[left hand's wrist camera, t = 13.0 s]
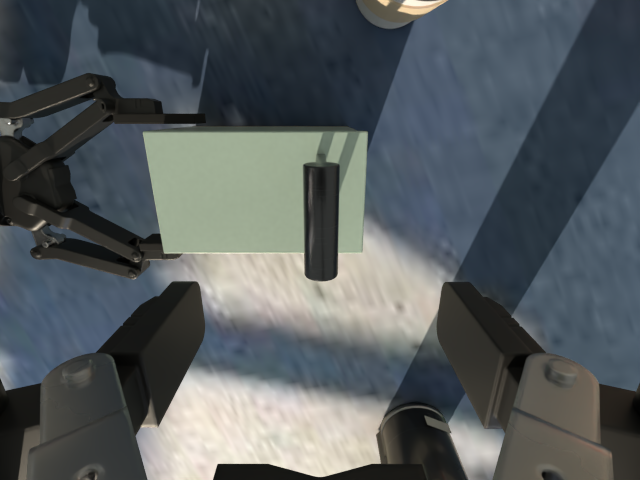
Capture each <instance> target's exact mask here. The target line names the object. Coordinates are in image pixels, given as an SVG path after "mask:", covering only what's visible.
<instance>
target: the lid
mask: <svg viewBox="0 0 640 480" xmlns="http://www.w3.org/2000/svg"><path fill="white" fill-rule="evenodd" d="M143 136H144V142H145V148H146V154H147V159H148V165H149V171H150V176H151V182H152V188H153V193H154V199H155V205H156V211H157V216H158V222H159V228H160V233H161V239H162V245H163V250H164V253H304V265H305V276H306V277H307V278H308V279H311V280H314V281H329V280H332V279H334V278H335V277H336V276H337V274H338V253H362V248H363V227H364V206H365V185H366V164H367V143H368V132H367V131H144V132H143Z"/></svg>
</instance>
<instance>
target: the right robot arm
mask: <svg viewBox="0 0 640 480" xmlns="http://www.w3.org/2000/svg"><path fill="white" fill-rule="evenodd" d="M115 88H116V84H115V81H114V80H113V79H112V78H111V77H108V76H103V75H97V74H92V73H86V74H84V75H81V76H78V77H76V78H73V79H71V80H68V81H65V82H63V83H60V84H58V85H55V86H52V87H50V88H47V89H45V90H42V91H39V92H37V93H34V94H32V95H29V96H26V97H24V98H21V99H19V100H16V101H13V102H0V132H1V135H2V136H0V226H19V227H22V228H24V229H26V230H29V231H32V234H33V237H34V240H35V242H36V245H37V246H36V247H34V248H32V249H31V251H30V253H31V255H32V257H33V258H35V259H39V260H41V259H59V260H63V261H66V262H70V263H74V264H78V265H81V266H85V267H89V268H92V269H96V270H100V271H104V272H107V273H111V274H115V275H118V276H122V277H126V278H130V279H136V278H137V277H138V276H139V275H141V274H142V273H143V272H144V271H145V270H146V269H147V268H148V267H149V266H150V262H149V260H175V259H177V258H179V257H180V256H181V255H182V254H183V253H164V250H163V245H162V239H161V234H152V235H150V236H149V237H147V238H146V239H143V238H141V237H139V236H137V235H135V234H134V233H132V232H130V231H128V230H126V229H124V228H122V227H120V226H118V225H116V224H114V223H112V222H110V221H108V220H106V219H104V218H103V217H101V216H99V215H97V214H95V213H93V212H91V211H90V210H89V208H88V207H87V206H85V205H83V204H81V203H79V202H78V201H76V200H74V199H77V197H76V194H75V190H74V188H73V186H72V185H71V182H70V170H69V166H68V165H65V164H64V163H63V162H64V161H65V160H66V159H68V158H69V157H70V156H72V155H73V154H74V153H75V150H77V149H78V148H79V147H81V146H82V145H83V144H85V143H86V142H87V141H89V140H90V139H91V138H93V137H94V136H96V135H97V134H98V133H100V132H101V131H102V130H104V129H105V128H106V127H108V126H109V125H110V124H112V123H113V122H114V123H115V124H198V123H206V119H205V114H163V110H162V103H161V101H158V100H156V99H148V98H122V97H121V96H120V95H119V94H118V93H117V91H116V89H115ZM91 99H93V100H97V101H96V102H94V103H93V104H92V105H91V106H89V107H88V108H87V109H85V110H84V111H83V112H81V113H80V114H79V115H78V116H76V117H75V118H74V119H72V120H71V121H70V122H68V123H67V124H66V125H65V126H63V127H62V128H61V129H59V130H58V131H57V132H56V133H54V134H53V135H52V136H50V137H49V138H48V139H46V140H45V141H43V142H41V143H38V144H36V143H34V142H33V141H31V140H30V139H28V138H26V137H24V136H22V131H23V129H25V128H28V127H30V125H31V124H33V123H34V120H33V118H40V117H45V116H48V115H51V114H53V113H56V112H59V111H61V110H64V109H67V108H70V107H72V106H75V105H78V104H80V103H83V102H86V101H88V100H91ZM50 225H54V226H56V227H58V228H62V229H69V230H72V231H74V232H76V233H78V234H80V235H82V236H84V237H86V238H88V239H90V240H92V241H94V242H96V243H98V244H100V245H102V246H100V245H97V244H93V243H89V242H86V241H82V240H78V239H72V238H66V235H65V234H58V233H54V232H52V231H51V230H50V228H49V226H50Z"/></svg>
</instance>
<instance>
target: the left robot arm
mask: <svg viewBox="0 0 640 480" xmlns="http://www.w3.org/2000/svg"><path fill="white" fill-rule="evenodd" d="M204 333H205V320H204V313H203V305H202V298H201V291H200V286H199V284H198V282H196V281H174V282H172V283H171V284H170V285H169V286H168V287H167V288H166V289H165V290H164V291H163V293H162V294H161V295H160V296H155V297H153V298H152V299H150V300H148V301H147V302H145V303H143V304H141V305H140V306H139V307H138V308H137V309H136V310H135V311H134V313H133V314H132V315H131V317H129V318H128V319H127V320H126V321H125V322H124V323H123V326H120V327H119V329H118V330H117V331H116V332H115V333H114V334H113V335H112V336H111V337H110V338H109V339H108V340H107V341H106V342H105V343H104V345H103V346H102V347H101V348H100V349H99V350H98V351H97V352H96V353H90V354H85V355H81V356H78V357H75V358H72V359H70V360H68V361H66V362H64V363H62V364H60V365H59V366H57V367H56V368H54V369H53V370H52V371H51V372H49V373H48V374H47V375H46V377H45V378H44V379H43V381H42V383H40V384H35V385H31V386H26V387H21V388H17V389H12V390H7V391H5V389H4V386H3V384H2V382H1V379H0V480H147V476H146V473H145V469H144V466H143V462H142V458H141V455H140V451H139V447H138V444H137V440H136V437H135V436H136V434H137V432H138V431H139V429H140V427H158V426H159V424H160V422H161V421H162V419H163V417H164V415H165V413H166V411H167V409H168V407H169V405H170V403H171V401H172V399H173V397H174V395H175V393H176V392H177V390H178V388H179V386H180V384H181V382H182V380H183V378H184V376H185V374H186V372H187V370H188V368H189V366H190V364H191V362H192V361H193V359H194V357H195V355H196V353H197V351H198V349H199V347H200V345H201V343H202V341H203V338H204ZM437 335H438V339H439V342H440V344H441V346H442V348H443V350H444V352H445V354H446V356H447V358H448V359H449V361H450V363H451V365H452V367H453V369H454V371H455V373H456V375H457V377H458V379H459V381H460V382H461V384H462V386H463V388H464V390H465V392H466V394H467V396H468V398H469V400H470V402H471V403H472V405H473V407H474V409H475V411H476V413H477V415H478V417H479V419H480V421H481V423H482V424H483V426H484V428H485V429H503V430H504V432H505V437H504V440H503V444H502V447H501V451H500V455H499V458H498V462H497V466H496V469H495V473H494V476H493V480H640V384H639V386H638V389H637V391H636V392H635V391H630V390H626V389H621V388H616V387H612V386H607V385H602V384H599V383H598V381H597V379H596V378H595V377H594V375H593V374H592V373H591V372H589V371H588V370H587V369H586V368H584V367H583V366H581V365H580V364H578V363H576V362H574V361H572V360H570V359H568V358H565V357H562V356H559V355H555V354H550V353H546V352H545V351H544V350H543V349H542V348H541V347H540V346H539V345H538V343H537V342H536V341H535V340H534V339H533V338H532V337H531V336H530V335H529V334H528V333H527V332H526V331H525V330H524V329H523V328H522V327H520V326H519V323H518V322H517V321H516V320H515V319H514V318H511V315H510V314H509V313H508V312H507V311H506V310H505V309H504V308H503V307H502V306H501V305H500V304H498V303H496V302H495V301H493V300H491V299H489V298H488V297H483V296H482V295H481V294H480V293H479V292H478V291H477V290H476V289H475V287H474V286H473V285H472V284H471V283H470V282H445V283H444V284H443V286H442V291H441V298H440V305H439V312H438V319H437ZM450 433H451V431H450V428H449V426H448V424H446V421H445V419H444V416H443V415H442V414H441V412H440V411H439V410H437V409H436V408H434V407H432V406H430V405H427V404H421V403H411V404H405V405H402V406H399V407H397V408H395V409H393V410H392V411H391V412H389V413H388V414H387V415H386V416H385V418H384V419H383V421H382V423H381V428H380V432H379V433H378V434H377V435H376V437H377V443H378V448H379V454H380V460H381V464H370V465H366V466H363V467H359V468H355V469H352V470H348V471H344V472H341V473H337V474H333V475H330V476H326V477H314V476H310V475H307V474H303V473H299V472H296V471H292V470H288V469H285V468H281V467H277V466H274V465H270V464H218V465H217V468H216V472H215V475H214V478H213V480H468V477H467V475H466V472H465V470H464V467H463V465H462V463H461V460H460V458H459V455H458V453H457V450H456V448H455V445H454V443H453V440H452V438H451V435H450Z"/></svg>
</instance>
